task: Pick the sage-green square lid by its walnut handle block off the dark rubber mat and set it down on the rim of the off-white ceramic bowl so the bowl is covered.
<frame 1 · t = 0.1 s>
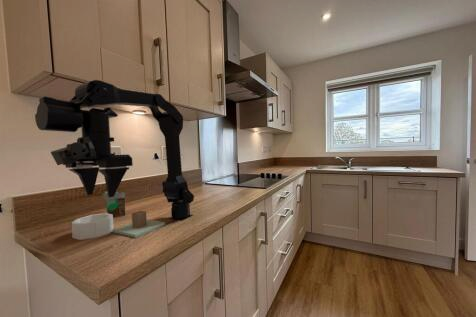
hand: (100, 195, 50), 15 cm above the worktop, fingers open, 9 cm apart
lid: (139, 228, 65), resting on mat
bowl: (94, 234, 63), on the worktop
food container: (113, 216, 81), on the worktop
mat: (139, 229, 65), on the worktop
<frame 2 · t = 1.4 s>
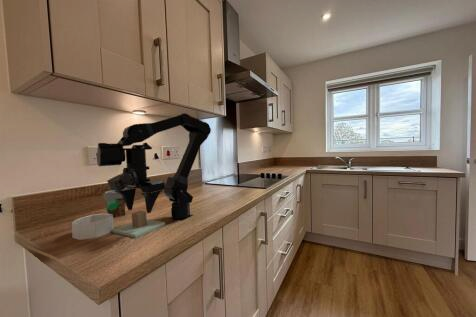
hand: (139, 211, 65), 6 cm above the worktop, fingers open, 9 cm apart
nothing on the worktop moved.
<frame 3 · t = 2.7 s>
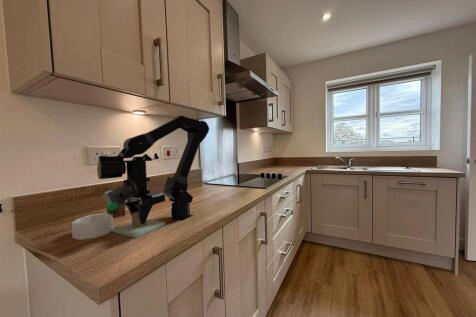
hand: (139, 223, 65), 2 cm above the worktop, fingers closed on lid, 3 cm apart
lid: (139, 228, 65), resting on mat, touching gripper
everything else where it was.
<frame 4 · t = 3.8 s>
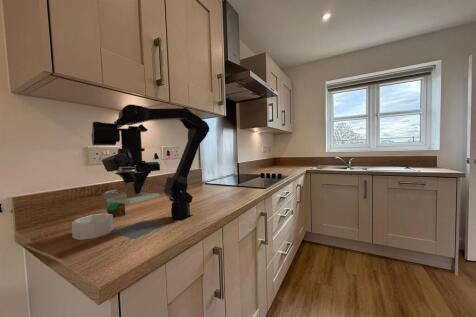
hand: (134, 193, 65), 12 cm above the worktop, fingers closed on lid, 3 cm apart
lid: (134, 198, 65), point 10 cm above the worktop, touching gripper
everything else where it was.
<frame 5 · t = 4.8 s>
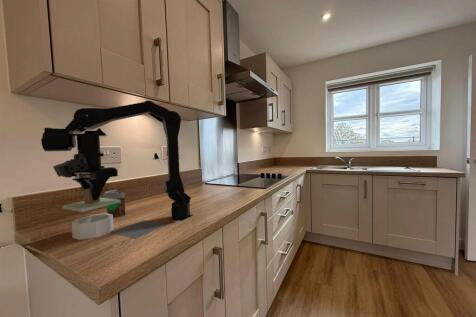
hand: (92, 199, 63), 11 cm above the worktop, fingers closed on lid, 3 cm apart
lid: (92, 205, 63), point 9 cm above the worktop, touching gripper
everything else where it was.
when the fingers open (8 cm above the worktop, at t = 5.4 s): lid drops 2 cm, resting on bowl.
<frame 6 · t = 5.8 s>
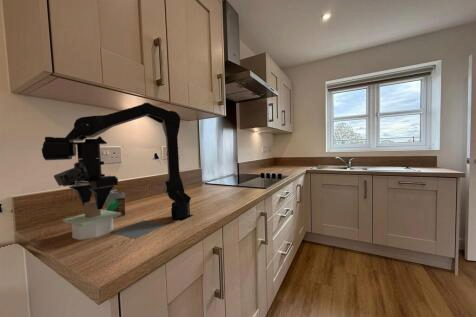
hand: (92, 208, 63), 8 cm above the worktop, fingers open, 7 cm apart
lid: (93, 218, 63), point 5 cm above the worktop, touching bowl
everything else where it was.
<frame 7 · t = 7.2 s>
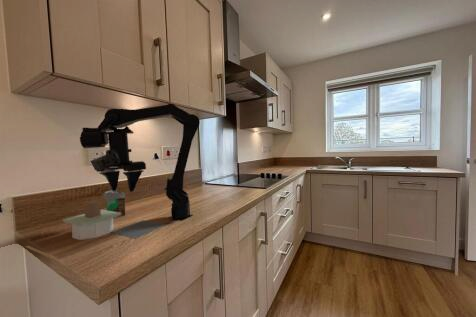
hand: (122, 191, 70), 12 cm above the worktop, fingers open, 9 cm apart
nothing on the worktop moved.
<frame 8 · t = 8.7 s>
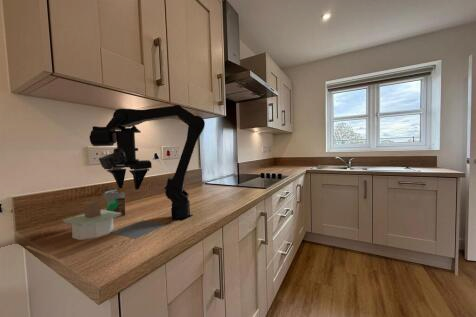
hand: (128, 188, 72), 13 cm above the worktop, fingers open, 9 cm apart
nothing on the worktop moved.
at the end: lid 0.0 cm off-centre on the bowl, point 5.0 cm above the bowl's base; lid tilted 0°; the gripper is holding nothing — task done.
